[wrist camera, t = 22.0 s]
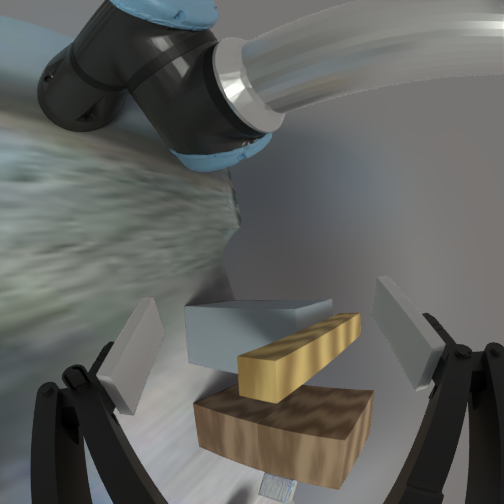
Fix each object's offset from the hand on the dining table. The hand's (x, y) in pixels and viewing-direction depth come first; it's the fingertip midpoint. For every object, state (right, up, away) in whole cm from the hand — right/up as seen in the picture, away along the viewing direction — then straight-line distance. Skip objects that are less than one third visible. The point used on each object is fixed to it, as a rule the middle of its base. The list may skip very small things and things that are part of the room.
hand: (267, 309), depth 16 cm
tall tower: (-6, -29, +35) cm, 46 cm away
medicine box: (+3, -61, +42) cm, 75 cm away
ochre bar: (+7, -9, +20) cm, 23 cm away
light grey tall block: (-8, -11, +35) cm, 38 cm away
